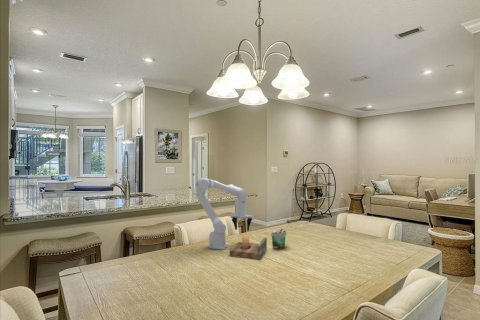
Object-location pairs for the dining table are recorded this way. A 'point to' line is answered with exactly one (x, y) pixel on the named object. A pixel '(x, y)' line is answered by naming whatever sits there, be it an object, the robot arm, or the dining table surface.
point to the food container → (279, 239)
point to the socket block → (250, 250)
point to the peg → (245, 242)
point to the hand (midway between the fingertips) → (242, 229)
